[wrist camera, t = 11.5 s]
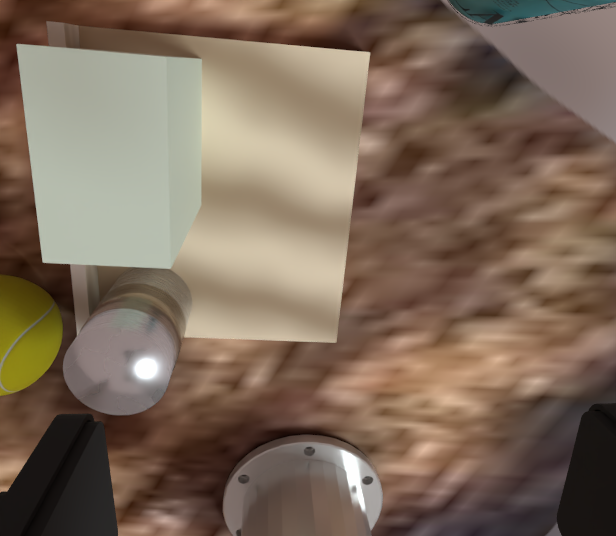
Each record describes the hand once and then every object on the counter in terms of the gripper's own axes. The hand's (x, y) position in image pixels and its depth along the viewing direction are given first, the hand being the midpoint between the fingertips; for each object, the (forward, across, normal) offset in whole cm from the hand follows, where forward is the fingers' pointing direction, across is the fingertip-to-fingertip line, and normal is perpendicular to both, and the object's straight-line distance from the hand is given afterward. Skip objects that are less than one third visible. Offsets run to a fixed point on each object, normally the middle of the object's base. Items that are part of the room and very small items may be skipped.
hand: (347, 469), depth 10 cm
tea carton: (+22, +8, -4) cm, 23 cm away
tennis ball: (+24, +18, +7) cm, 30 cm away
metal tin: (+22, +9, +6) cm, 25 cm away
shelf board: (+23, +5, 0) cm, 24 cm away
